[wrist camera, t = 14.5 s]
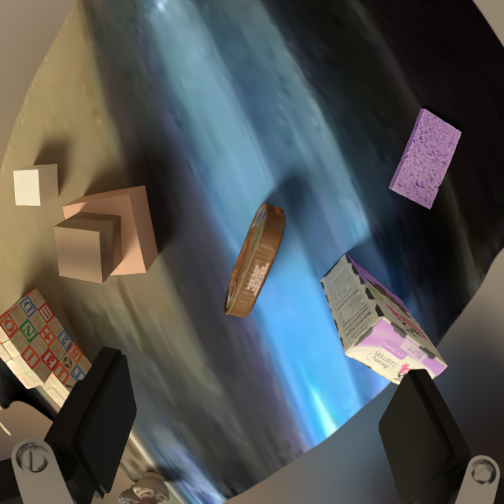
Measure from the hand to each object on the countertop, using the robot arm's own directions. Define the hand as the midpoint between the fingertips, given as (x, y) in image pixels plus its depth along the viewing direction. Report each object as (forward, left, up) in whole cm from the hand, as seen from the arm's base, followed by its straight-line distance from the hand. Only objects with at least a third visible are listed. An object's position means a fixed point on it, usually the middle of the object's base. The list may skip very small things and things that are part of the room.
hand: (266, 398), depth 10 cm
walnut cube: (+6, -19, -28) cm, 34 cm away
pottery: (+84, -24, -34) cm, 93 cm away
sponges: (-8, +22, -34) cm, 41 cm away
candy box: (+13, +17, -34) cm, 40 cm away
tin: (+8, 0, -34) cm, 35 cm away
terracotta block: (+6, -19, -34) cm, 39 cm away
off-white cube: (0, -32, -33) cm, 46 cm away
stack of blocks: (+29, -34, -34) cm, 56 cm away
